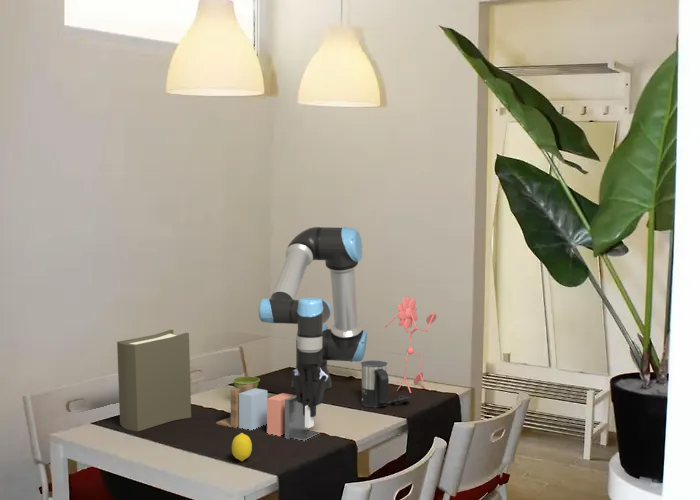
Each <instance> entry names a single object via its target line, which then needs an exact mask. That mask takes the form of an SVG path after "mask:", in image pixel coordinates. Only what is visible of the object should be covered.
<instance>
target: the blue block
mask: <svg viewBox="0 0 700 500" xmlns="http://www.w3.org/2000/svg"><path fill="white" fill-rule="evenodd" d="M267 398H268V390H267V389H262V388H258V387H257V388H254V389H251V390H248V391H245V392H242V393H239V427H238V429H242V428H243V430H247V429H249V430H248V431H251V430H252V431H253V429H254V430H257V429H259V428H262V427H264V426H267V425H266V424H267ZM263 425H264V426H263ZM261 426H262V427H261ZM258 427H259V428H258ZM256 428H257V429H256Z"/></svg>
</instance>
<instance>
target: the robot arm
mask: <svg viewBox="0 0 700 500" xmlns="http://www.w3.org/2000/svg"><path fill="white" fill-rule="evenodd" d="M285 258H286V259H285V261H284V263H283V266H282V268H281V271H280V272H279V273H280V274H279V275H278V278H277V281H276V283H275V286H274V289H273V290H272V293H271V295H270V298H269V297H267V298H262V299H261V300H260V301H259V304H258V316H259V317H258V318H259V320H260V321H261V322H262V323H269V324H290V325H291V324H292V325H297V331H296V338H295V342H296V343H295V345H296V348H295V349H296V350H295V351H296V353H295V355H296V361H295V362H296V364H295V369H293V370H290V373H289V374H290V375H291V378H292V379H291V388H292V389H294V390H295V395H296V397H297V402H298V403H302V405H303V415H304V416H305V428H308V429H310V428H312V427H314V426H315V417H316V415H317V407H318V406H319V405H321V404H322V403H323V400H324V395H325V391H326V390H329V389H331V388H332V379H331V376H330V372H329V368H328V361H337V362H350V363H353V362H362V361H363V359H364V357H365V353H366V348H367V343H368V341H367V340H368V331H367V330H364V329H363V326H362V324H361V322H359V319H358V307H357V306H358V305H357V292H356V291H357V290H356V277H355V273H356V272H355V268H356V267H357V266H358V265H359V262H361V260H362V259H363V242H362V237H361V235H360V231H358V230H357V229H356V228H352V227H346V226H344V227H331V226H330V227H325V226H324V227H323V226H321V227H320V226H313V227H310V228H307V229H305V230H302V231H301V232H300V233H298V234H296V236H295V237H294V238H293V239H292V240H291V241H290V243H289V244H288V246H287V249H286V250H285ZM313 261H325V262H324V263H325V267H326V268H327V270H329V271H330V279H331V280H330V282H331V297H332V298H331V299H332V306H333V307H331V305H330V302H328V301H327V300H325V299H324V298H322V299H321V298H319V297H304V298H300V299H296V297H297V294H298V291H299V289H300V286H301V284H302V281H303V279H304V275H305V273H306V270H307V268H308V266H309V265H310V264H311V263H313ZM332 308H333V310H332ZM332 311H333V322H334V323H333V324H332V325H331V328H329V327H328V325H327V324H325V323H326V322H328V320H329V319H330V317H331V314H332Z"/></svg>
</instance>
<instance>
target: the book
mask: <svg viewBox="0 0 700 500" xmlns="http://www.w3.org/2000/svg"><path fill="white" fill-rule="evenodd" d="M116 344H117V348H116V349H117V371H118V372H117V375H118V376H117V377H118V379H117V380H118V401H119V405H118V407H119V426H120V425H121V426H122V427H121V426H120V427H121V428H123V429H124V430H128V431H133V432H140V431H144V430H147V429H150V428H153V427H157V426H161V425H164V424H167V423H170V422H173V421H178V420H183V419H191V418H192V397H191V364H190V363H191V359H190V358H191V357H190V333H189V332H184V333H181V334H177V335H176V334H174V329H169V330H165V331H163V332H158V333H156V334H152V335H147V336H142V337H138V338H131V339H125V340H120V341H116Z"/></svg>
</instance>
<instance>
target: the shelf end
mask: <svg viewBox="0 0 700 500" xmlns="http://www.w3.org/2000/svg"><path fill="white" fill-rule="evenodd" d="M254 388H256V384H252V383H250V384H247V385H244V386H241V387H238V388H235V387H234V388H232V389H230V416H229V417H227V418H224V419H220V420H219V421H216V422H215V424H216V425H218V426H222V427H227V426H228V427H229V428H232V427H233V429H238V428H239V393H242V392H245V391H248V390H251V389H254ZM237 427H238V428H237Z"/></svg>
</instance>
